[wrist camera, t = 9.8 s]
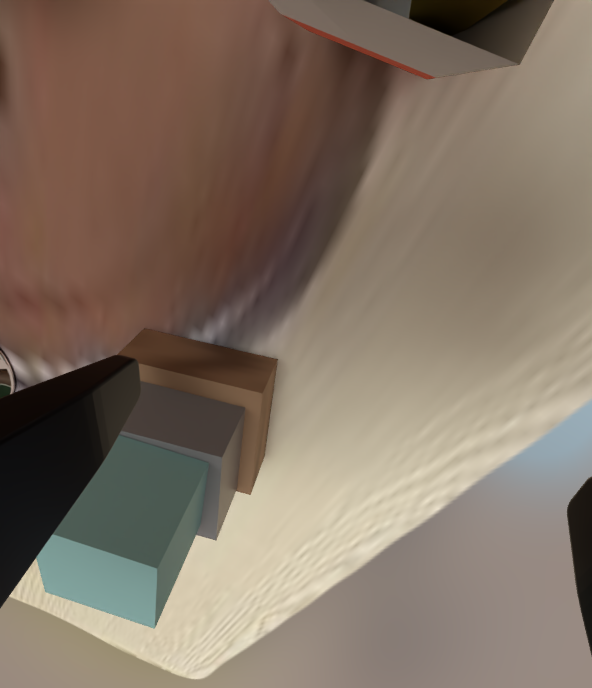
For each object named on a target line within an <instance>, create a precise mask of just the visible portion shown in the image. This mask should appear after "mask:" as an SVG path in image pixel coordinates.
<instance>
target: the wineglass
mask: <svg viewBox="0 0 592 688" xmlns="http://www.w3.org/2000/svg"><path fill="white" fill-rule="evenodd" d="M14 390H15V379H14V374H13V371H12V369H11V366H10V364H9V362H8V361H7V359H6V357H5V356H4V354H3V353H2V352H1V350H0V398H2V397H4V396H7V395H10V394H12V393H13V392H14Z"/></svg>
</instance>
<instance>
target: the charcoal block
mask: <svg viewBox="0 0 592 688" xmlns="http://www.w3.org/2000/svg"><path fill="white" fill-rule="evenodd" d="M140 382H141V394H140V397H139V400H138V402H137V403H136V405H135V407H134V409H133V411H132V412H131V414H130V416H129V418H128V420H127V421H126V423H125V425H124V427H123V429H122V430H121V432H120V434H119V435H121V436H124V437H128V438H131V439H134V440H137V441H140V442H144V443H147V444H150V445H153V446H156V447H160V448H163V449H166V450H169V451H172V452H176V453H179V454H182V455H185V456H188V457H192V458H195V459H198V460H201V461H204V462H208V463H209V467H208V474H207V481H206V488H205V496H204V503H203V510H202V517H201V524H200V527H199V529H198V532H197V534H196V535H199V536H202V537H206V538H209V539H213V540H217V537H218V535H219V532H220V530H221V527H222V525H223V522H224V520H225V517H226V515H227V512H228V510H229V507H230V505H231V502H232V499H233V497H234V494H235V492H236V489H237V484H238V474H239V465H240V455H241V446H242V436H243V427H244V418H245V407H241V406H237V405H233V404H229V403H225V402H221V401H217V400H214V399H210V398H206V397H202V396H198V395H194V394H190V393H186V392H182V391H178V390H174V389H170V388H166V387H163V386H159V385H155V384H151V383H147V382H143V381H140Z"/></svg>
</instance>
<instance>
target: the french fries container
mask: <svg viewBox="0 0 592 688" xmlns="http://www.w3.org/2000/svg"><path fill="white" fill-rule="evenodd" d="M553 1H554V0H269V2H270V3H271V4H272V5H273V6H274V7H275V8H276V9H277V11H278V12H279V13H280V14H281V15H283V16H285V17H286V18H288V19H290V20H291V21H293V22H295V23H296V24H298V25H300V26H302V27H303V28H305V29H307V30H308V31H310V32H313V33H315V34H318V35H320V36H322V37H325V38H327V39H330V40H332V41H335V42H337V43H340V44H342V45H344V46H347V47H349V48H352V49H354V50H357V51H359V52H361V53H364V54H366V55H369V56H371V57H374V58H376V59H379V60H381V61H383V62H386V63H388V64H391V65H393V66H396V67H398V68H401V69H403V70H405V71H408V72H410V73H413V74H415V75H418V76H420V77H423V78H425V79H432V78H438V77H445V76H451V75H457V74H463V73H469V72H476V71H482V70H488V69H494V68H501V67H507V66H513V65H519V64H520V63H521V61H522V59H523V57H524V55H525V53H526V51H527V50H528V48H529V46H530V44H531V42H532V40H533V38H534V36H535V35H536V33H537V31H538V29H539V27H540V25H541V23H542V21H543V20H544V18H545V16H546V14H547V12H548V10H549V8H550V7H551V5H552V3H553Z"/></svg>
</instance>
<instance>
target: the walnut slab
mask: <svg viewBox="0 0 592 688" xmlns="http://www.w3.org/2000/svg"><path fill="white" fill-rule="evenodd" d="M117 355H124V356H128V357H132V358H135V359H136V360H137V361H138V363H139V371H140V381H143V382H147V383H151V384H155V385H159V386H163V387H166V388H170V389H174V390H178V391H182V392H186V393H190V394H194V395H198V396H202V397H206V398H210V399H214V400H217V401H221V402H225V403H229V404H233V405H237V406H241V407H245V418H244V427H243V436H242V446H241V455H240V465H239V474H238V484H237V489H236V491H238V492H242V493H245V494H249V495H251V492H252V489H253V487H254V484H255V481H256V478H257V475H258V473H259V470H260V467H261V464H262V462H263V459H264V455H265V448H266V441H267V433H268V426H269V419H270V411H271V404H272V397H273V390H274V382H275V375H276V368H277V360H278V359H273V358H269V357H265V356H261V355H256V354H252V353H248V352H243V351H239V350H235V349H231V348H226V347H222V346H218V345H213V344H209V343H205V342H201V341H196V340H192V339H188V338H183V337H179V336H175V335H171V334H166V333H162V332H158V331H153V330H149V329H145V328H144V329H143V330H142V331H141V332H140V333H139V334H138V335H137V336H136V337H135V338H134V339H133V340H132V341H131V342H130V343H129V344H128V345H127V346H126V347H125V348H124V349H123V350H122V351H120V352H119V353H118V354H117Z"/></svg>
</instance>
